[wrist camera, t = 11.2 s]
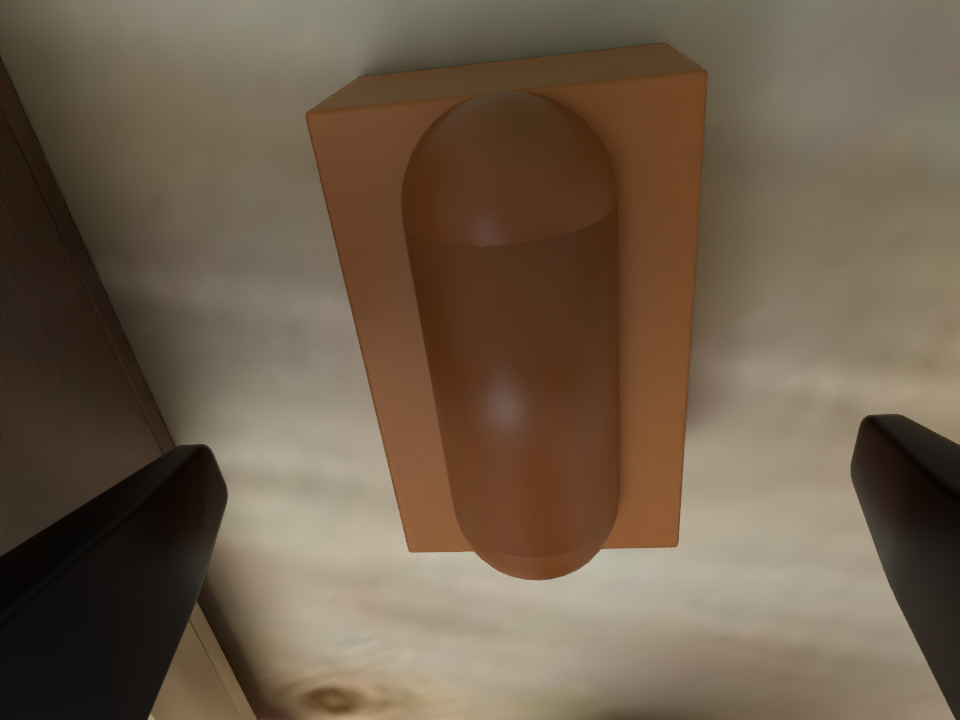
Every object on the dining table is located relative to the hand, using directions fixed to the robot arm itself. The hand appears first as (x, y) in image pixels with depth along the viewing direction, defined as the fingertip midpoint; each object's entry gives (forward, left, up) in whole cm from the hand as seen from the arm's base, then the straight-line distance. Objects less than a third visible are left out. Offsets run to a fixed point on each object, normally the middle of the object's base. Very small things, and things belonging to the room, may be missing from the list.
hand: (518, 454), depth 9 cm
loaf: (0, 0, -6) cm, 6 cm away
